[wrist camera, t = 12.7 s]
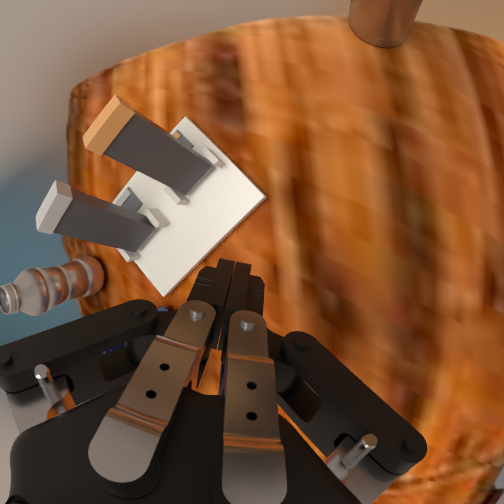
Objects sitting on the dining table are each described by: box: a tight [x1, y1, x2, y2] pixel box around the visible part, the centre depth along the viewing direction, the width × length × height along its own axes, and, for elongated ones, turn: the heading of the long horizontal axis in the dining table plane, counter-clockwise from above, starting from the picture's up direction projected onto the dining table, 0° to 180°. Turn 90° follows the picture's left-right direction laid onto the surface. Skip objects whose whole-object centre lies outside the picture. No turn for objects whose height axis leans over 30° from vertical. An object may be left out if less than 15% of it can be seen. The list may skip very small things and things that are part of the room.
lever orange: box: [83, 94, 214, 196], centre depth 30 cm, size 2×5×16 cm, turn 134°
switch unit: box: [112, 117, 267, 297], centre depth 39 cm, size 16×20×5 cm
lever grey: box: [36, 180, 157, 252], centre depth 33 cm, size 2×5×16 cm, turn 134°
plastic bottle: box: [0, 256, 104, 316], centre depth 36 cm, size 6×7×20 cm
